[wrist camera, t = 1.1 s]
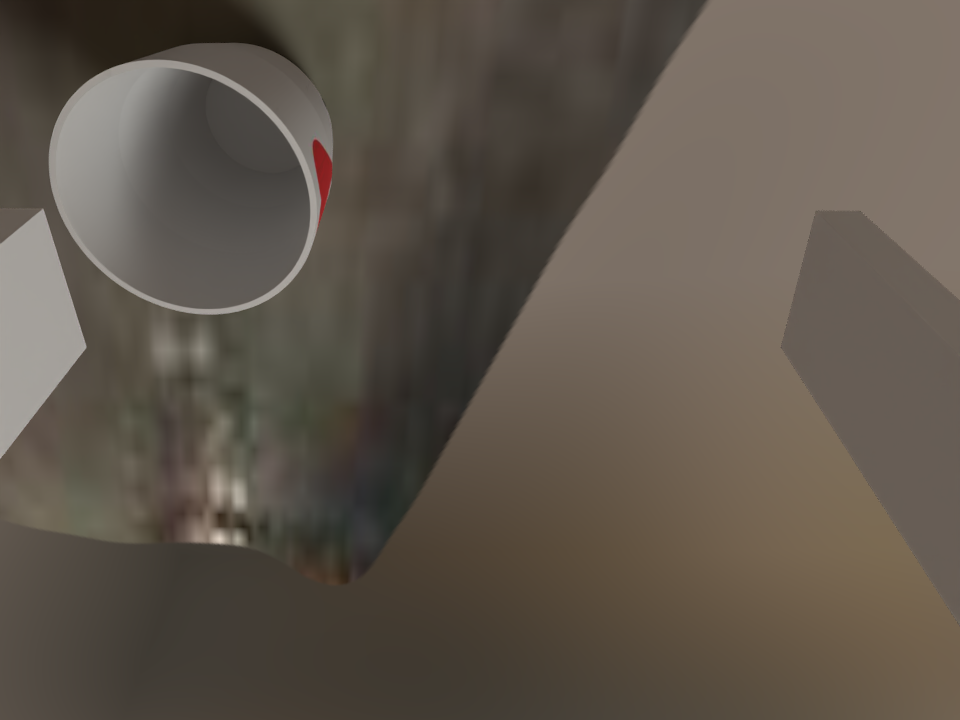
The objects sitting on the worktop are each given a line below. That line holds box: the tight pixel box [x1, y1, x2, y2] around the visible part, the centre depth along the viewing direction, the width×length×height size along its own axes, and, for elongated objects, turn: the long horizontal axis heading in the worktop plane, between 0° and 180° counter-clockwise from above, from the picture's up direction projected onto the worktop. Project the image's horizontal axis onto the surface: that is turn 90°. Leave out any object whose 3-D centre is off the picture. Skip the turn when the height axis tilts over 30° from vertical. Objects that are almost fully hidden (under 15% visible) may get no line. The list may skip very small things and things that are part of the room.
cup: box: [49, 43, 333, 314], centre depth 28 cm, size 8×8×10 cm
